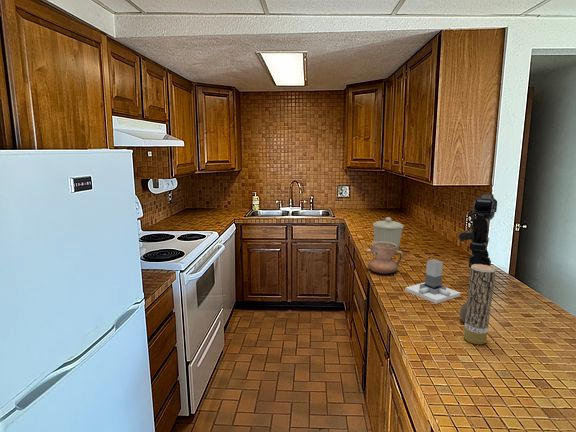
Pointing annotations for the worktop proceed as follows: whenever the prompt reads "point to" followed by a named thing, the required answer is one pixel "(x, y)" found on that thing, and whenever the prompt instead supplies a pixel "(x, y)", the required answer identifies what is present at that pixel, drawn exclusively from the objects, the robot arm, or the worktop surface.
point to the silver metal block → (433, 274)
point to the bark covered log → (479, 303)
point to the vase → (463, 312)
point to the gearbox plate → (432, 293)
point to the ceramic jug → (384, 257)
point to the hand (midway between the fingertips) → (477, 261)
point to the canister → (388, 231)
